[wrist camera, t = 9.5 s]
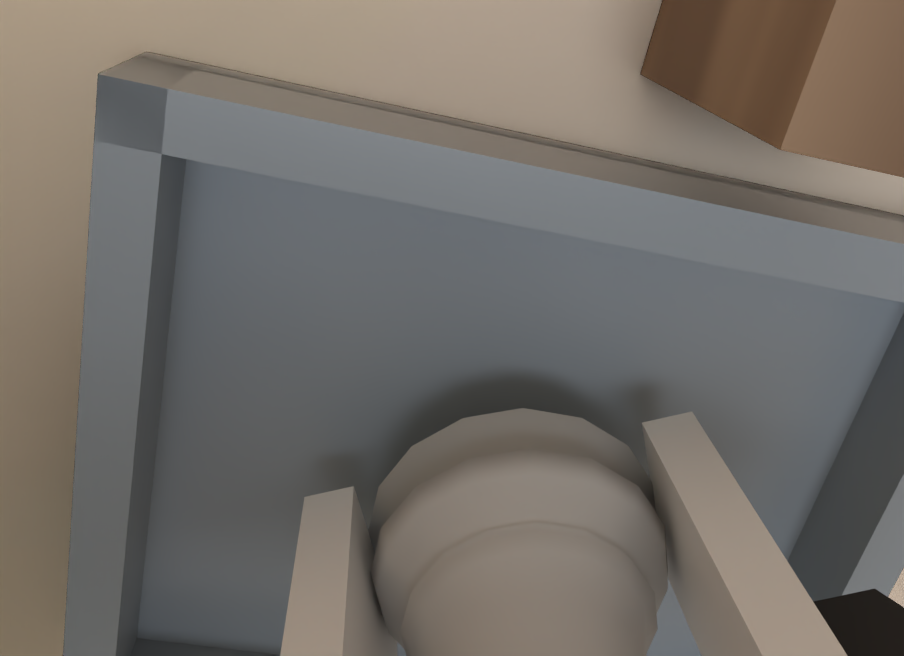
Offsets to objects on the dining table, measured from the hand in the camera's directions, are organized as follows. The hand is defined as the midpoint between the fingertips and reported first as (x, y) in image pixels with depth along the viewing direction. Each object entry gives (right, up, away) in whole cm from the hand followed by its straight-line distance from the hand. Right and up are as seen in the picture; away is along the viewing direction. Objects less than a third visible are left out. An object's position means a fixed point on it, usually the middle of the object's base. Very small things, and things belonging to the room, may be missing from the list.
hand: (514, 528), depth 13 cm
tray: (0, +1, +2) cm, 2 cm away
